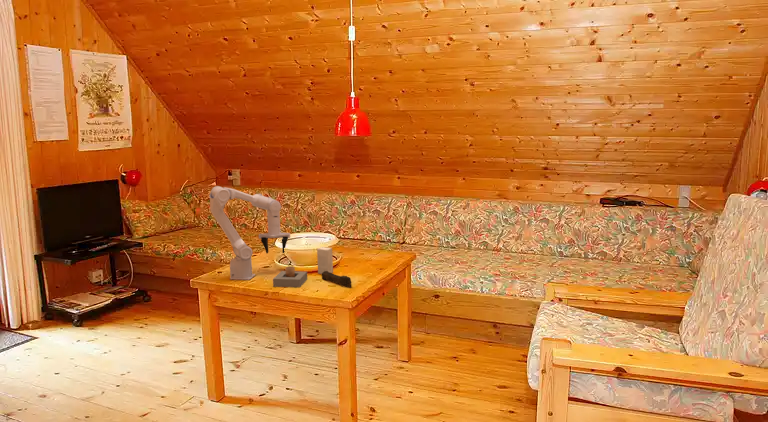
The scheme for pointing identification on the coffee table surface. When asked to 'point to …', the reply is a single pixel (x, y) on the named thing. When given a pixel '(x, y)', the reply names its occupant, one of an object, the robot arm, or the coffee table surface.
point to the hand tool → (337, 279)
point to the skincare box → (325, 260)
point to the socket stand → (289, 279)
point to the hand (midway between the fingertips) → (275, 252)
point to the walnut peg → (290, 271)
